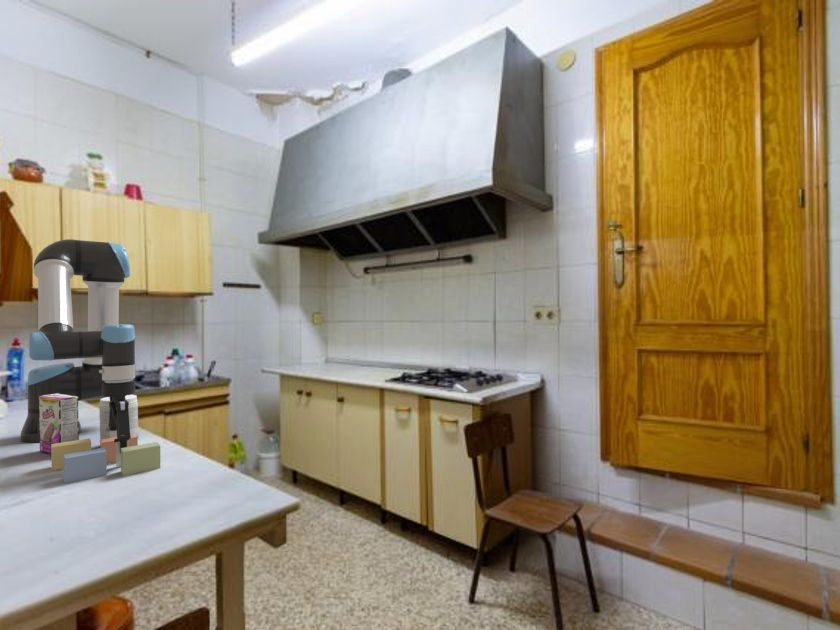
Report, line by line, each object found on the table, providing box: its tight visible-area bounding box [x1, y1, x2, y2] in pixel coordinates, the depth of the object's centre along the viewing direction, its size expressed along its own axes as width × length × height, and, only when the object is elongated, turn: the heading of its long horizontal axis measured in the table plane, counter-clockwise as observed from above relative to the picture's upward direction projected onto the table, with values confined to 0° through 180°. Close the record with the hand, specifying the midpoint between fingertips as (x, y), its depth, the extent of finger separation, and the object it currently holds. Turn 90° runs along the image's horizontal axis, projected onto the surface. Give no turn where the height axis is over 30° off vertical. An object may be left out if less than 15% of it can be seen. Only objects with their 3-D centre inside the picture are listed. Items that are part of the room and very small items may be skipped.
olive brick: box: [120, 441, 161, 477], centre depth 111 cm, size 8×4×6 cm, turn 132°
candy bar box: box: [39, 393, 80, 455], centre depth 125 cm, size 11×5×16 cm, turn 65°
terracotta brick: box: [99, 434, 139, 465], centre depth 119 cm, size 8×4×6 cm, turn 132°
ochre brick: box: [50, 437, 92, 471], centre depth 115 cm, size 8×4×6 cm, turn 132°
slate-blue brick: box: [63, 448, 108, 484], centre depth 106 cm, size 8×4×6 cm, turn 132°
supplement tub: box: [99, 394, 140, 441], centre depth 132 cm, size 10×10×15 cm
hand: (119, 459), depth 119 cm, fingers open, 12 cm apart
